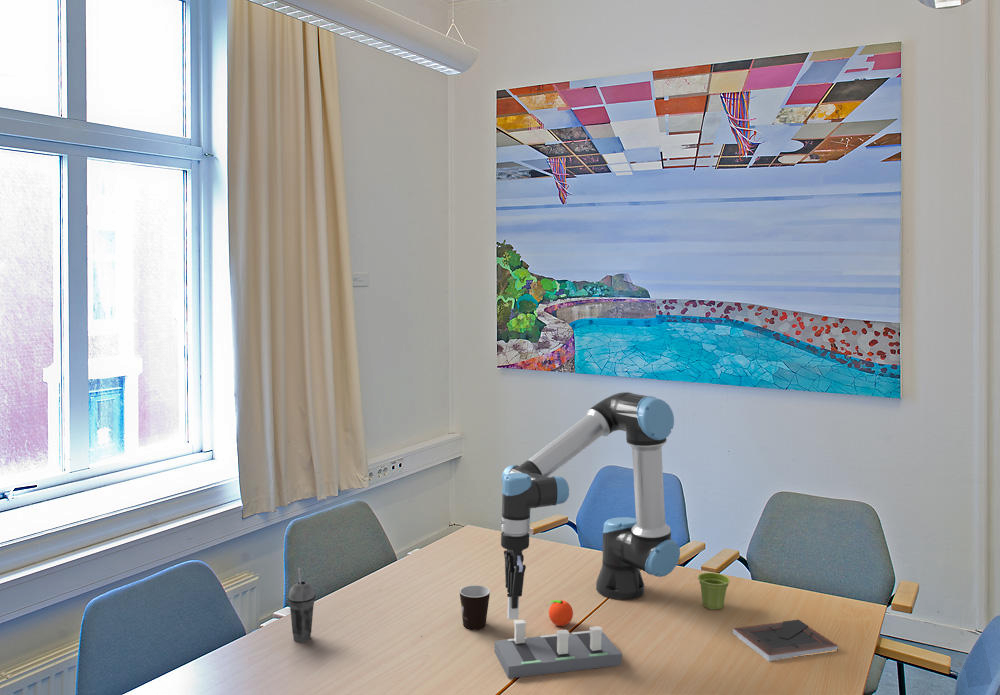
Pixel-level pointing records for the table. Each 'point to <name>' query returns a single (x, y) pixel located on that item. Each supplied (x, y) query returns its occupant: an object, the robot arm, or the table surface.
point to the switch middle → (562, 641)
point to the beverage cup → (301, 609)
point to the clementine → (560, 612)
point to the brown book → (784, 639)
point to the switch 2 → (595, 638)
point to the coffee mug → (474, 606)
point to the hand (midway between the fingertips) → (512, 618)
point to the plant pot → (713, 589)
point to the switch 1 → (519, 631)
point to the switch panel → (554, 655)
